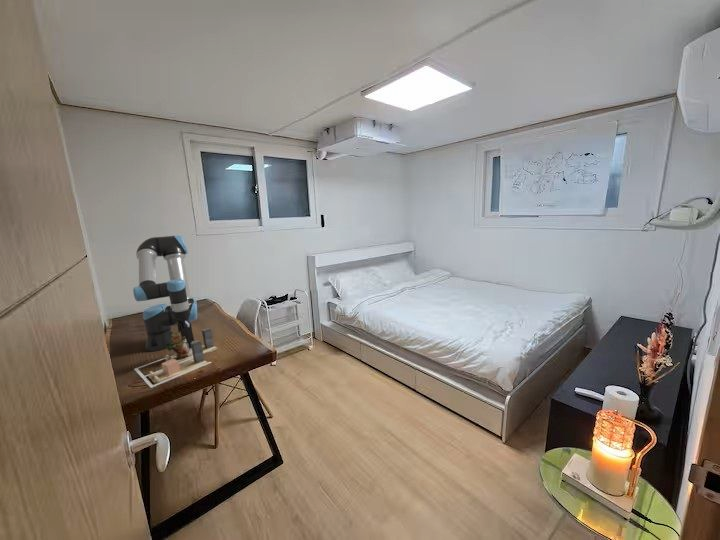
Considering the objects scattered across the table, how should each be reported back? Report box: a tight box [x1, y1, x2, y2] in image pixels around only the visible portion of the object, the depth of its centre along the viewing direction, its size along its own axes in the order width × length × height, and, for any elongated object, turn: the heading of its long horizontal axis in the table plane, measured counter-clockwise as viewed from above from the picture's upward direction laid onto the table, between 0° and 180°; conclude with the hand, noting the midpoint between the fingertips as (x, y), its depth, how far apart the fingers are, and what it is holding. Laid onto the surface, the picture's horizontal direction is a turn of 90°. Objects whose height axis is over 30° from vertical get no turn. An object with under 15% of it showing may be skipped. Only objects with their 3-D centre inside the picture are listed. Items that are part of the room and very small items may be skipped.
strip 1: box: [164, 327, 219, 363], centre depth 151 cm, size 11×22×11 cm, turn 140°
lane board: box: [133, 352, 212, 389], centre depth 140 cm, size 27×25×1 cm
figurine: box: [165, 331, 189, 360], centre depth 147 cm, size 9×8×15 cm
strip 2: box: [147, 339, 209, 385], centre depth 136 cm, size 11×22×11 cm, turn 140°
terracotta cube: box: [161, 359, 181, 376], centre depth 134 cm, size 5×5×5 cm
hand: (189, 351), depth 151 cm, fingers open, 5 cm apart
